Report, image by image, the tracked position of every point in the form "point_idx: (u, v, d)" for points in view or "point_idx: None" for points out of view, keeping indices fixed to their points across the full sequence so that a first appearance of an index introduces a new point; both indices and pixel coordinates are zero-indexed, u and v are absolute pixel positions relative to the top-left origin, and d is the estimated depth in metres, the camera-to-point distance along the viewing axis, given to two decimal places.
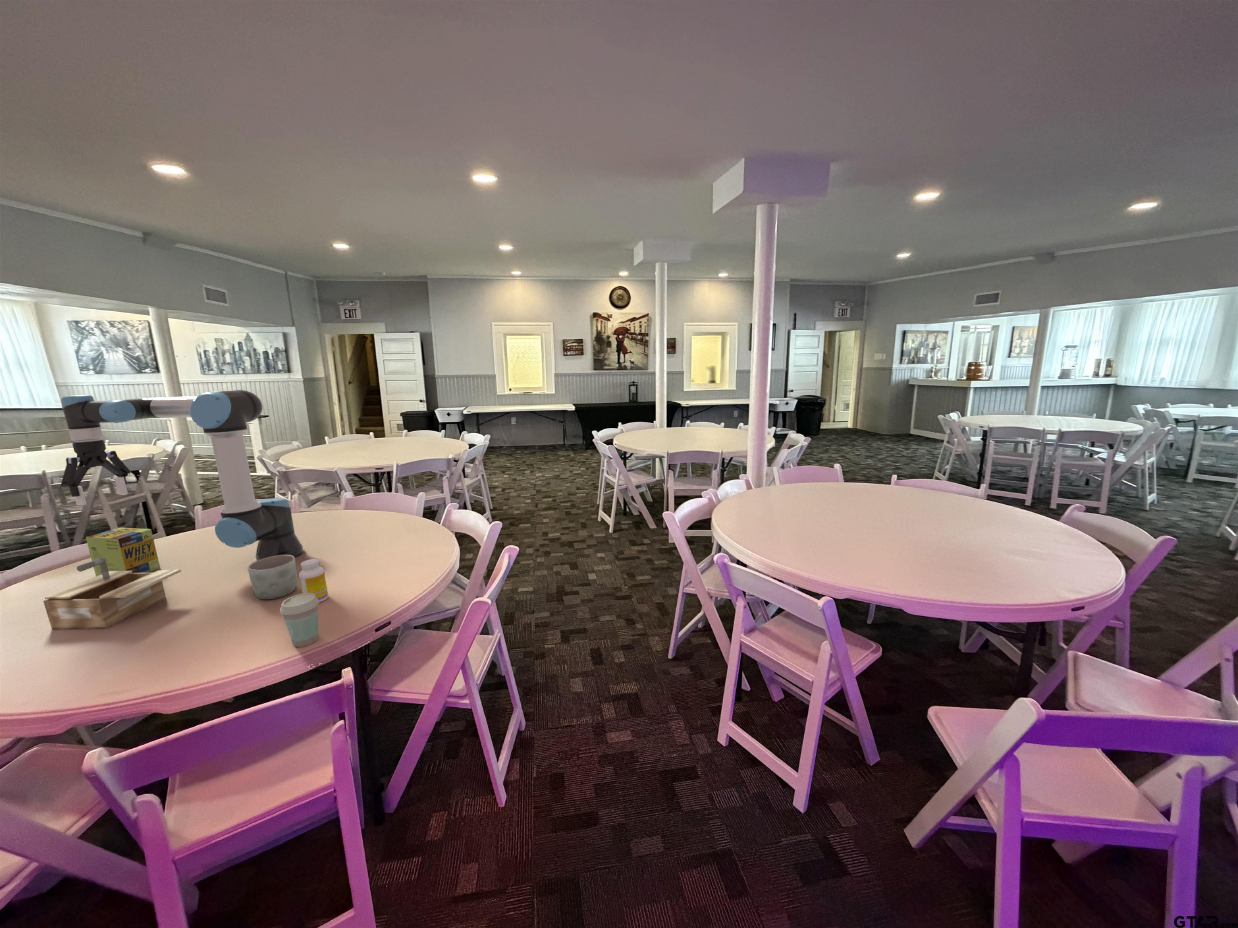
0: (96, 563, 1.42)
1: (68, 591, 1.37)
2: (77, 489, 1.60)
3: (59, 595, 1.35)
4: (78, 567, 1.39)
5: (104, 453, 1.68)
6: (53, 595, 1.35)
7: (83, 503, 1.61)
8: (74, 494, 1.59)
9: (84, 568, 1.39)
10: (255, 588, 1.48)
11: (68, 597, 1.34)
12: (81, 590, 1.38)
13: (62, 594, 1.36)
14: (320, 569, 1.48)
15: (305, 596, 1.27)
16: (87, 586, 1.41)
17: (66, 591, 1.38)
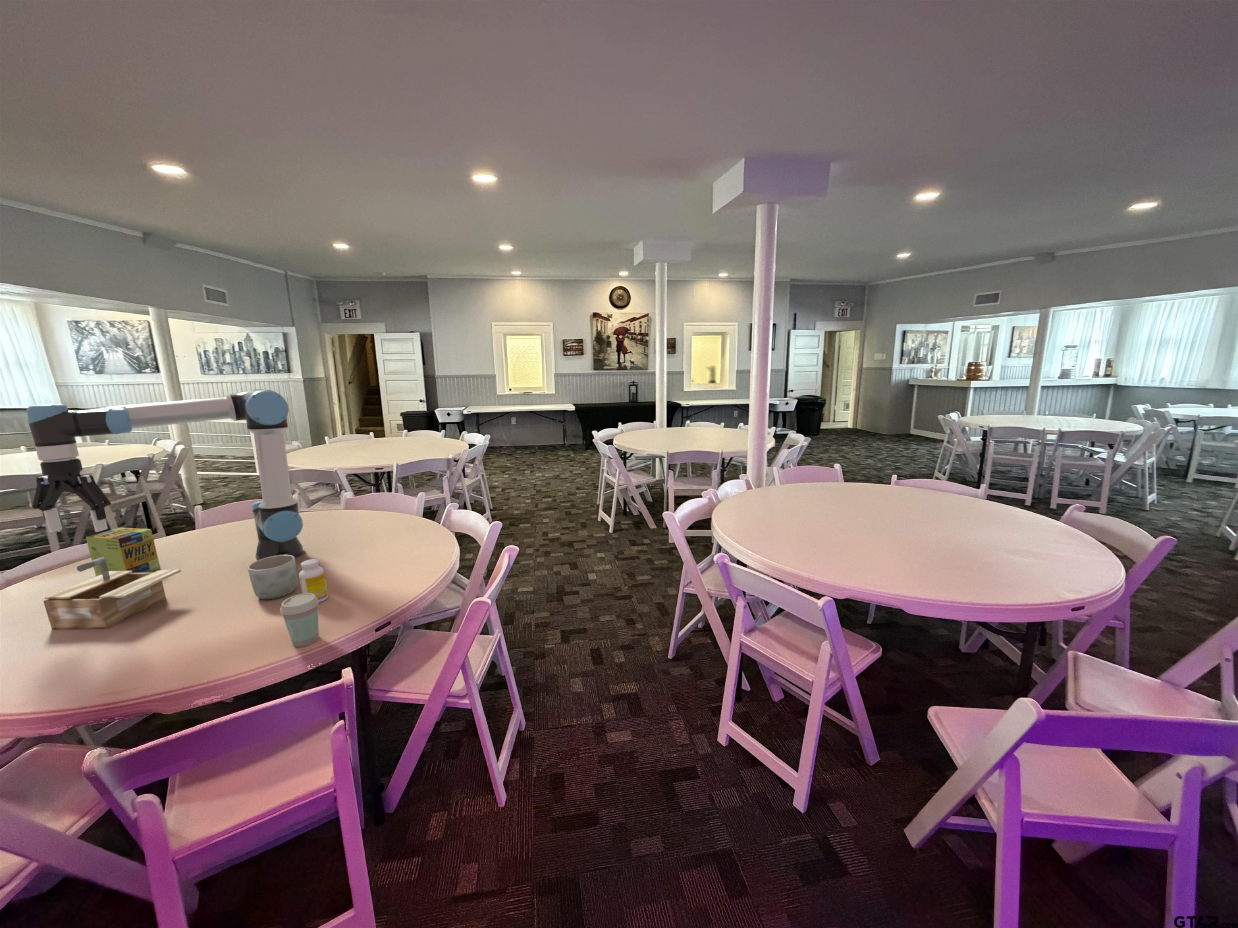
0: (96, 563, 1.42)
1: (68, 591, 1.37)
2: None
3: (59, 595, 1.35)
4: (78, 567, 1.39)
5: (71, 478, 1.34)
6: (53, 595, 1.35)
7: None
8: None
9: (84, 568, 1.39)
10: (255, 588, 1.48)
11: (68, 597, 1.34)
12: (81, 590, 1.38)
13: (62, 594, 1.36)
14: (320, 569, 1.48)
15: (305, 596, 1.27)
16: (87, 586, 1.41)
17: (66, 591, 1.38)
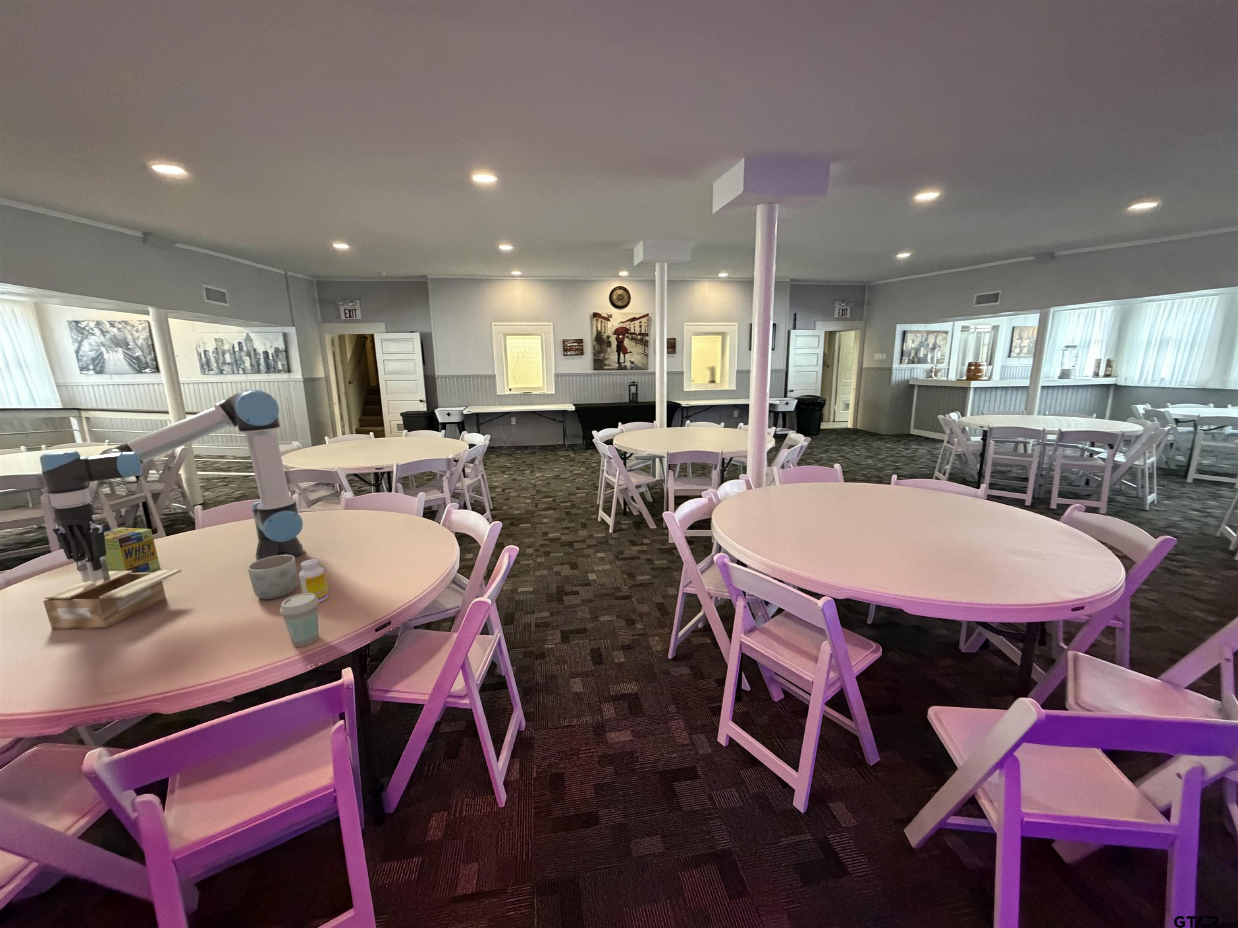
0: None
1: (68, 591, 1.37)
2: None
3: (59, 595, 1.35)
4: (78, 567, 1.39)
5: (84, 523, 1.37)
6: (53, 595, 1.35)
7: None
8: None
9: (84, 568, 1.39)
10: (255, 588, 1.48)
11: (68, 597, 1.34)
12: (81, 590, 1.38)
13: (62, 594, 1.36)
14: (320, 569, 1.48)
15: (305, 596, 1.27)
16: (87, 586, 1.41)
17: (66, 591, 1.38)
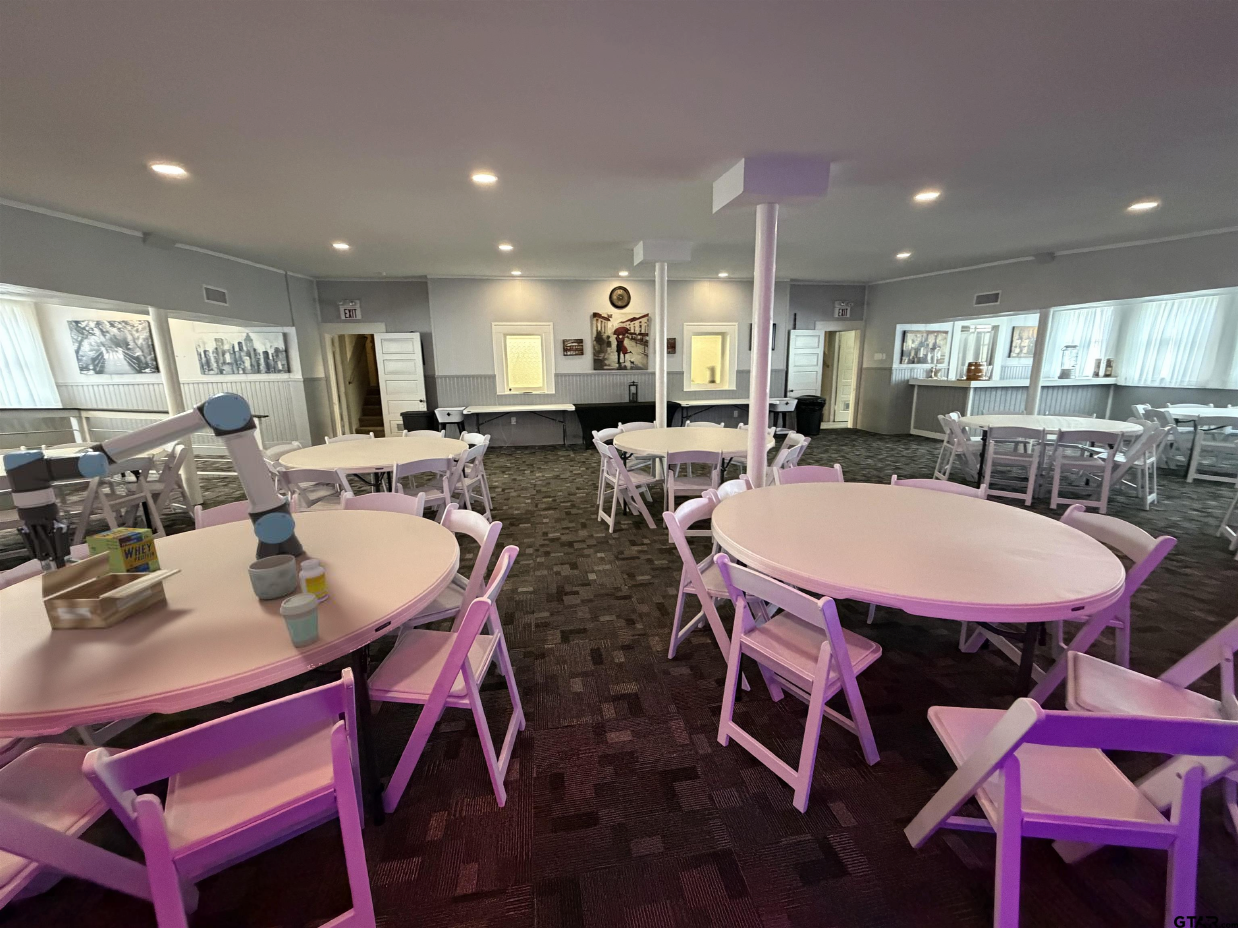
0: None
1: None
2: None
3: None
4: (43, 568, 1.39)
5: (48, 522, 1.37)
6: None
7: None
8: None
9: (46, 564, 1.39)
10: (255, 588, 1.48)
11: (43, 576, 1.33)
12: None
13: None
14: (320, 569, 1.48)
15: (305, 596, 1.27)
16: None
17: None
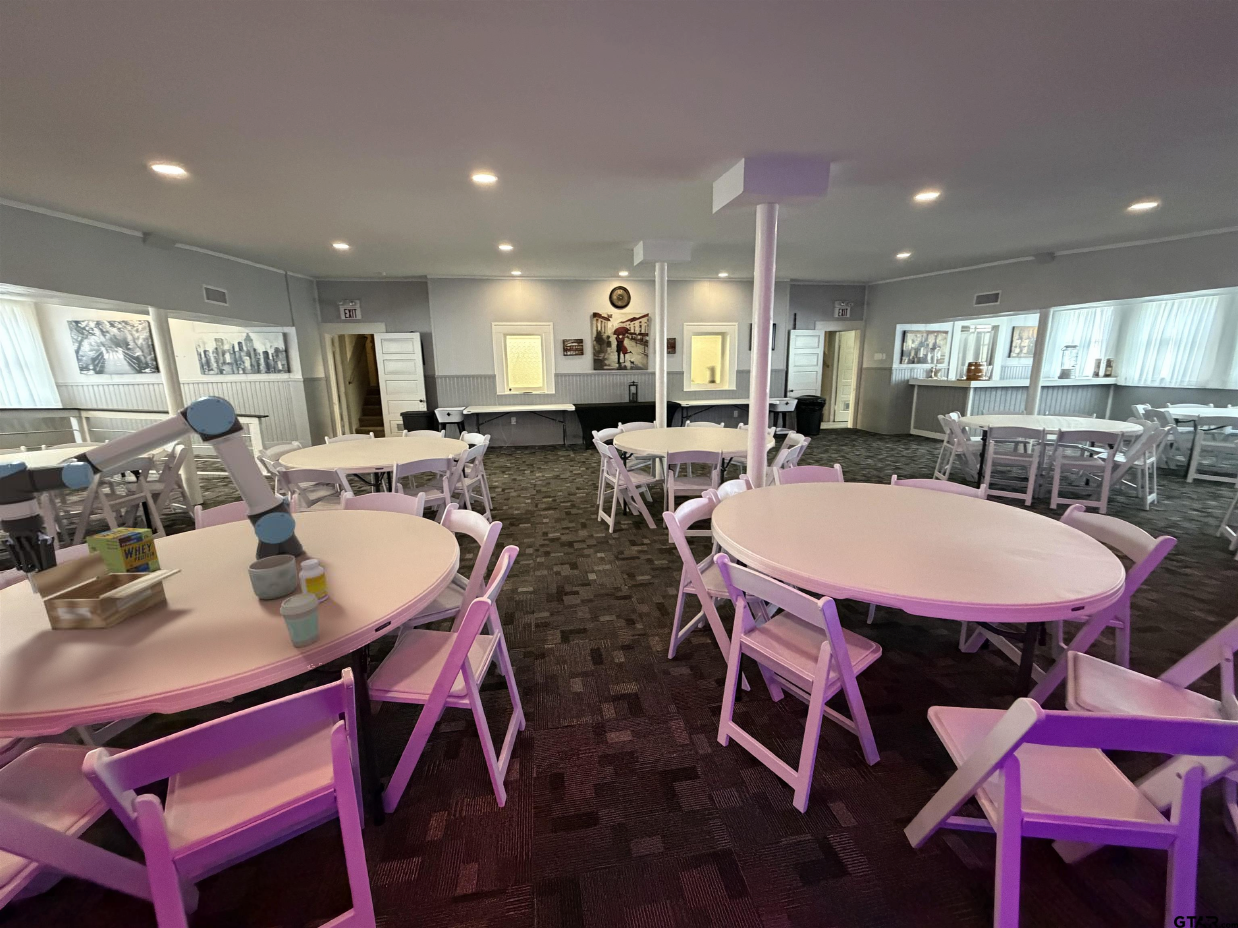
0: None
1: None
2: None
3: None
4: None
5: (32, 534, 1.36)
6: None
7: None
8: None
9: None
10: (255, 588, 1.48)
11: (32, 576, 1.33)
12: None
13: None
14: (320, 569, 1.48)
15: (305, 596, 1.27)
16: None
17: None
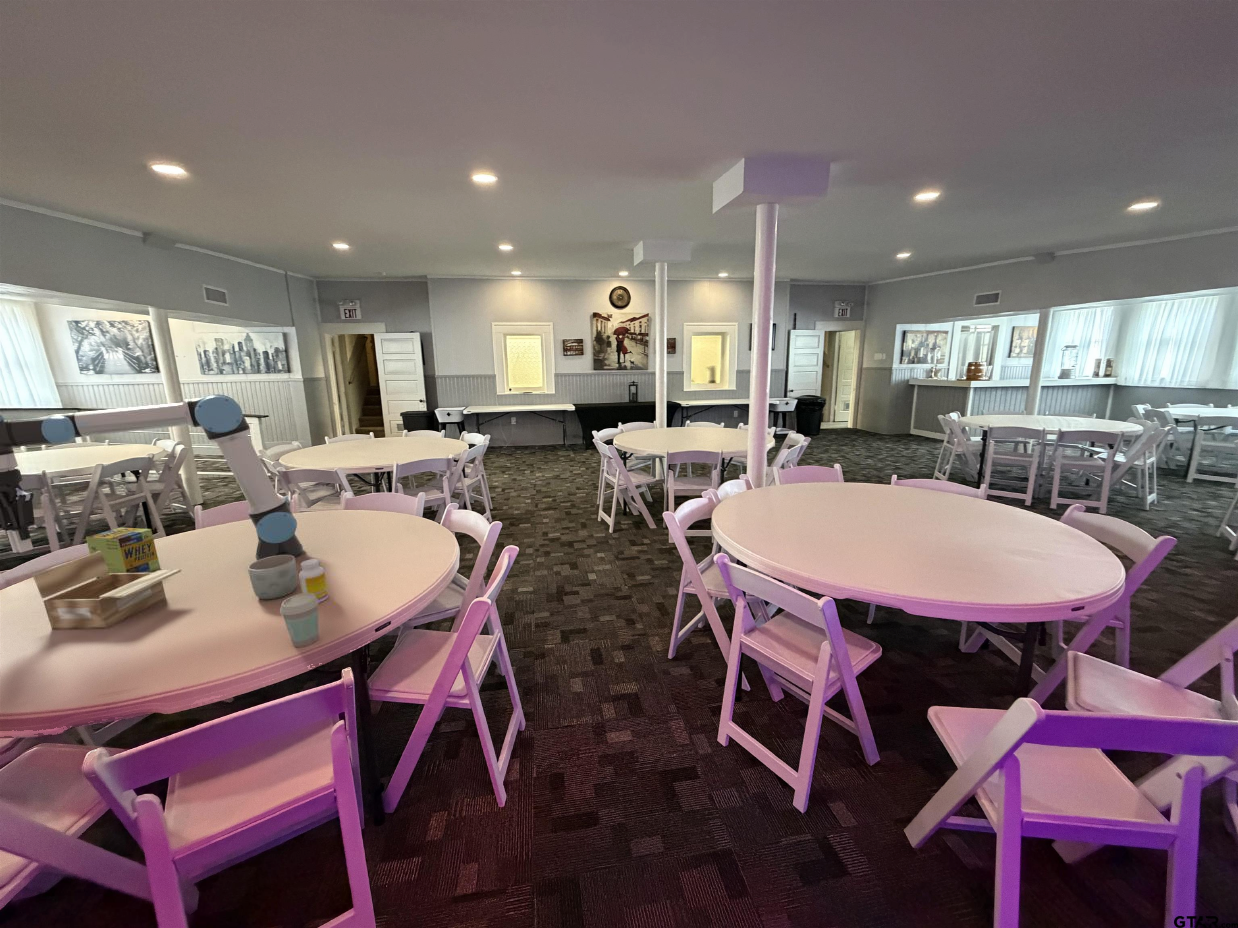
0: (52, 567, 1.43)
1: None
2: None
3: None
4: None
5: (10, 489, 1.31)
6: None
7: None
8: None
9: (40, 571, 1.39)
10: (255, 588, 1.48)
11: (34, 576, 1.33)
12: None
13: None
14: (320, 569, 1.48)
15: (305, 596, 1.27)
16: None
17: None
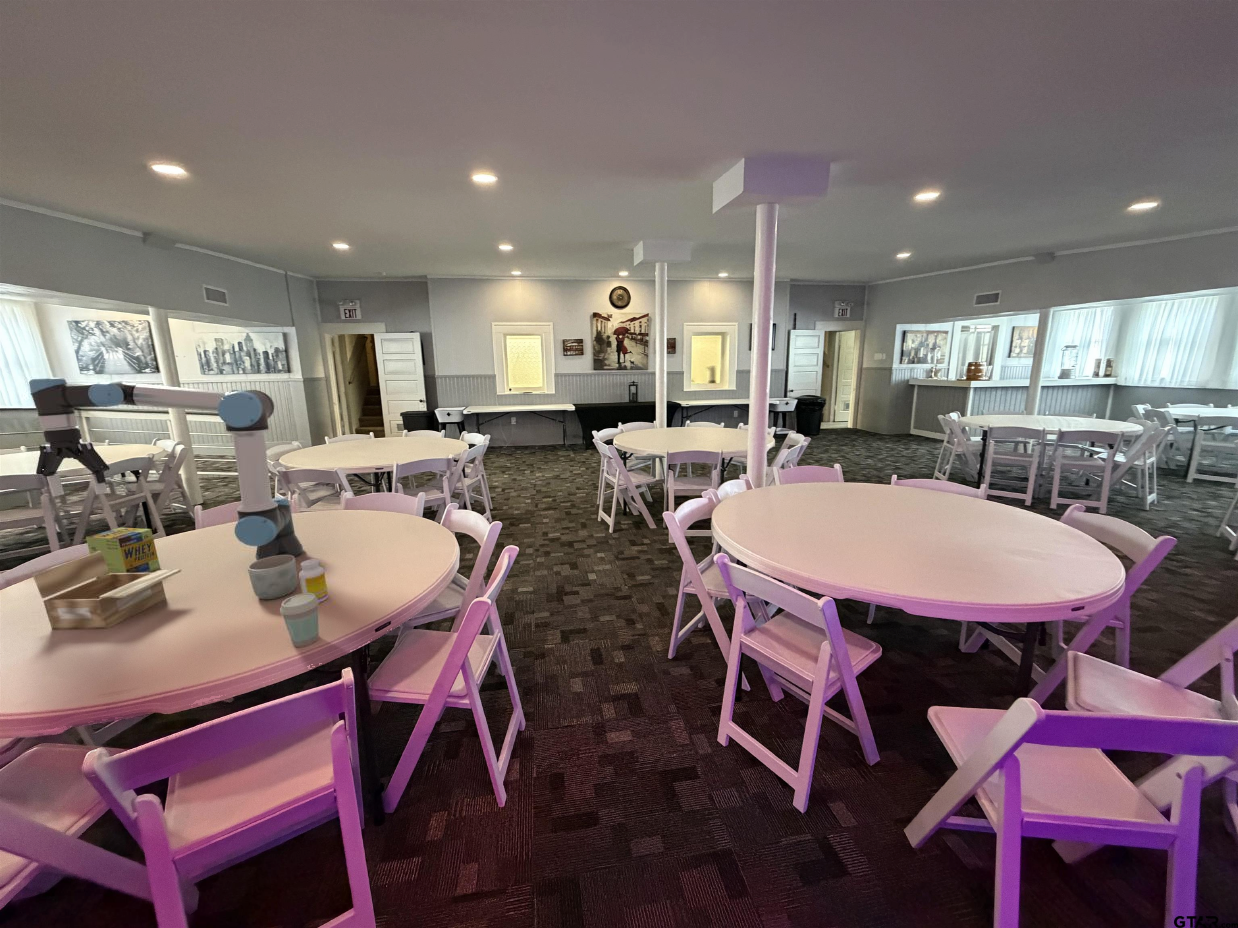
0: (52, 567, 1.43)
1: None
2: None
3: None
4: None
5: (72, 445, 1.48)
6: None
7: None
8: None
9: (40, 571, 1.39)
10: (255, 588, 1.48)
11: (34, 576, 1.33)
12: None
13: None
14: (320, 569, 1.48)
15: (305, 596, 1.27)
16: None
17: None
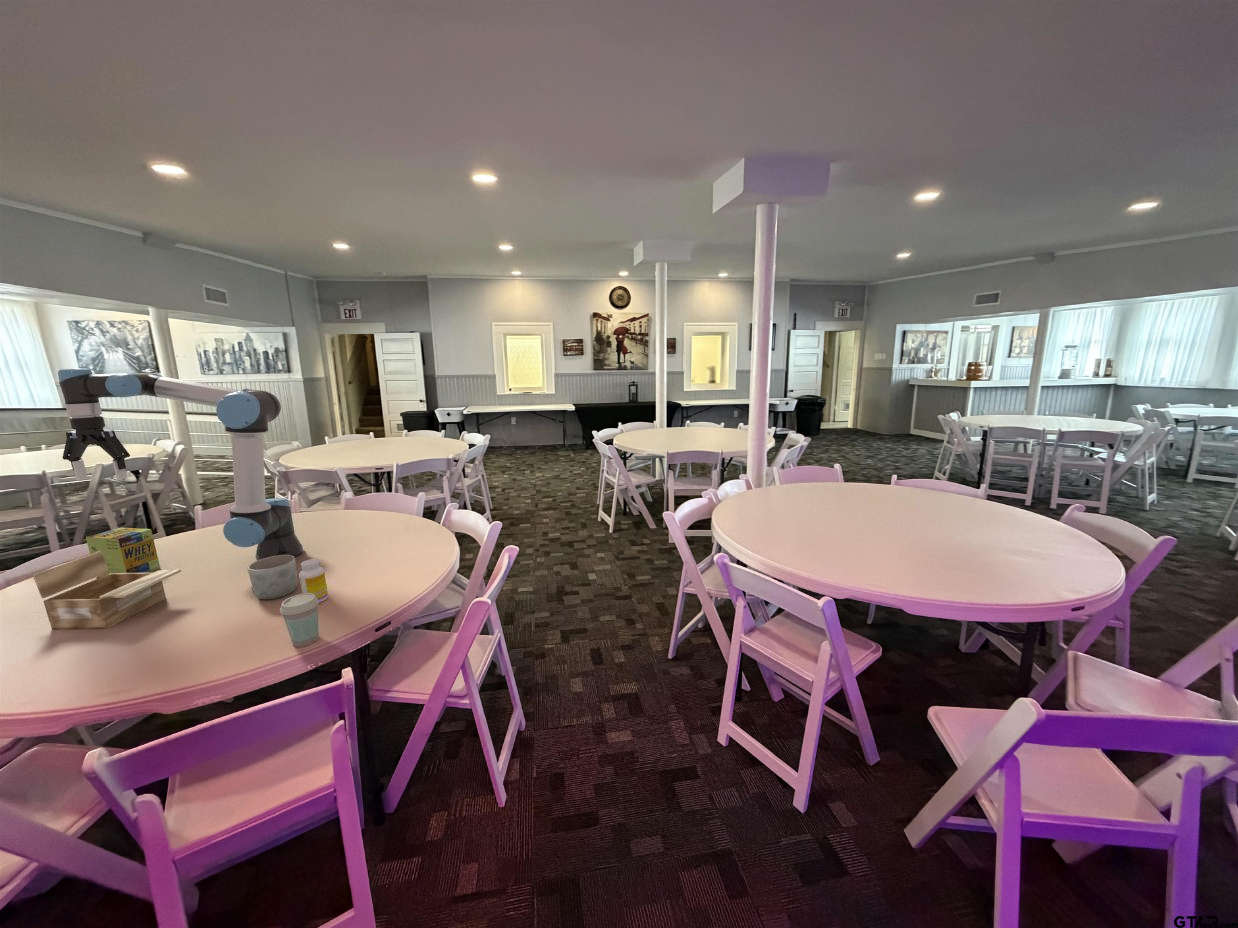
0: (52, 567, 1.43)
1: None
2: None
3: None
4: None
5: (95, 432, 1.56)
6: None
7: None
8: None
9: (40, 571, 1.39)
10: (255, 588, 1.48)
11: (34, 576, 1.33)
12: None
13: None
14: (320, 569, 1.48)
15: (305, 596, 1.27)
16: None
17: None
